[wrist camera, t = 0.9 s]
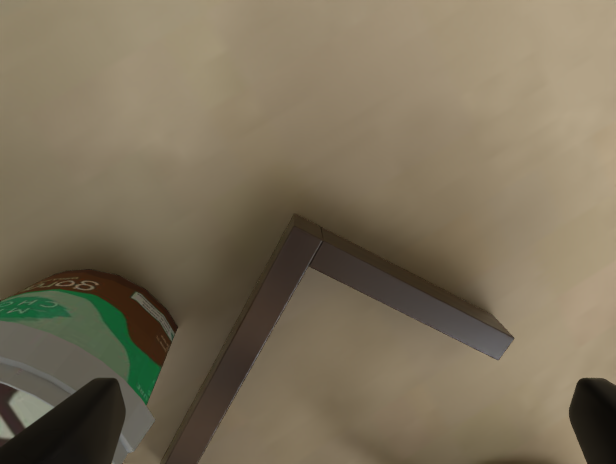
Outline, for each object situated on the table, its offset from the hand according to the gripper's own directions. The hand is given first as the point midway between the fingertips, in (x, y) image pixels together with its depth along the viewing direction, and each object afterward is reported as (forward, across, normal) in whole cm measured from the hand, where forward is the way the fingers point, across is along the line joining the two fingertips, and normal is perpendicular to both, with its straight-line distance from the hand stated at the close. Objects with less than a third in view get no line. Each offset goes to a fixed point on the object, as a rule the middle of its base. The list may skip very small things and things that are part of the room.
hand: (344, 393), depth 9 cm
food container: (+13, +14, +6) cm, 20 cm away
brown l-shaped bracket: (+12, +1, +12) cm, 17 cm away
